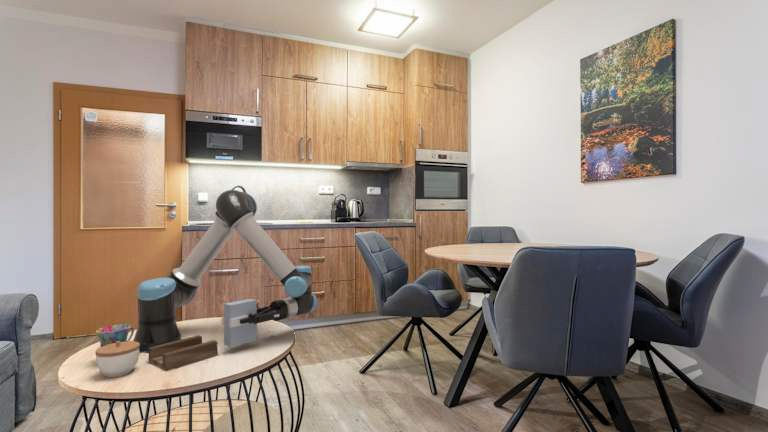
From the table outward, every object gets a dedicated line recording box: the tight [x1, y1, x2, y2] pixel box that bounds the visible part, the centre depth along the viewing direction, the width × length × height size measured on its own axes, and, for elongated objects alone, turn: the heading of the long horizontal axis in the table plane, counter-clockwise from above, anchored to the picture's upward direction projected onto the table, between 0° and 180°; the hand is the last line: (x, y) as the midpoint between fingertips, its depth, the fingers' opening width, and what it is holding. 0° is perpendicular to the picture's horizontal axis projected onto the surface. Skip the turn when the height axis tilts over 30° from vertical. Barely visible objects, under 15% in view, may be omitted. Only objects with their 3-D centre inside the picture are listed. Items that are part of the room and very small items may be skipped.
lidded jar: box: [95, 340, 140, 378], centre depth 112 cm, size 11×11×9 cm
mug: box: [95, 323, 135, 347], centre depth 123 cm, size 12×9×11 cm
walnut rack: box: [147, 334, 219, 372], centre depth 123 cm, size 13×16×4 cm
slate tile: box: [223, 298, 258, 348], centre depth 132 cm, size 4×10×14 cm, turn 143°
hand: (226, 322), depth 127 cm, fingers closed on slate tile, 4 cm apart
